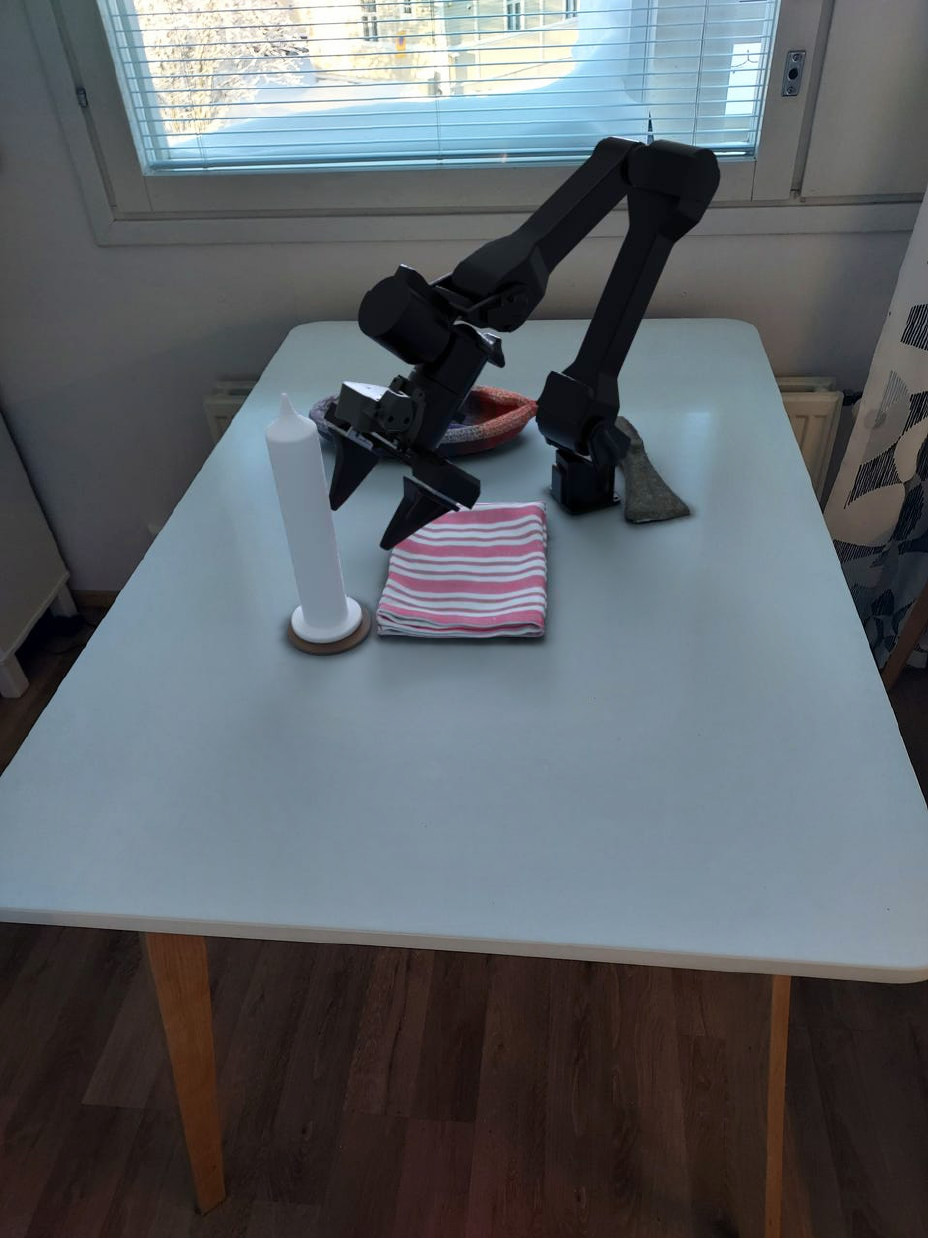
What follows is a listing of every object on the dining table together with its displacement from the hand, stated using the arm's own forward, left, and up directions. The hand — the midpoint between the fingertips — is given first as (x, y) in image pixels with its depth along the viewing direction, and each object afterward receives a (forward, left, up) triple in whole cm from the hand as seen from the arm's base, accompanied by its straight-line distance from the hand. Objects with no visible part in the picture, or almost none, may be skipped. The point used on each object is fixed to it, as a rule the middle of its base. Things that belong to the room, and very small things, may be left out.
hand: (356, 528), depth 90 cm
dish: (-18, -31, -10) cm, 37 cm away
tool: (-38, -10, -10) cm, 41 cm away
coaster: (+4, +1, -10) cm, 11 cm away
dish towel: (-12, -1, -10) cm, 15 cm away
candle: (+5, +1, -10) cm, 11 cm away
